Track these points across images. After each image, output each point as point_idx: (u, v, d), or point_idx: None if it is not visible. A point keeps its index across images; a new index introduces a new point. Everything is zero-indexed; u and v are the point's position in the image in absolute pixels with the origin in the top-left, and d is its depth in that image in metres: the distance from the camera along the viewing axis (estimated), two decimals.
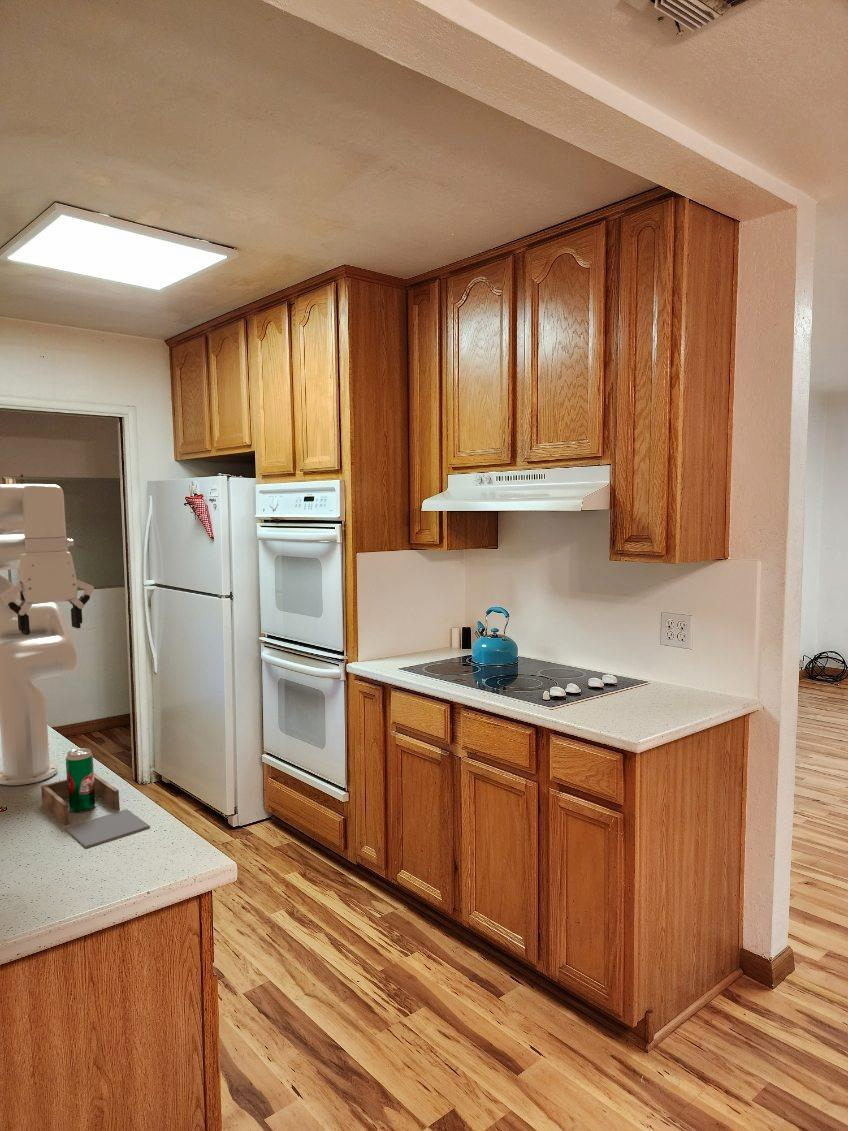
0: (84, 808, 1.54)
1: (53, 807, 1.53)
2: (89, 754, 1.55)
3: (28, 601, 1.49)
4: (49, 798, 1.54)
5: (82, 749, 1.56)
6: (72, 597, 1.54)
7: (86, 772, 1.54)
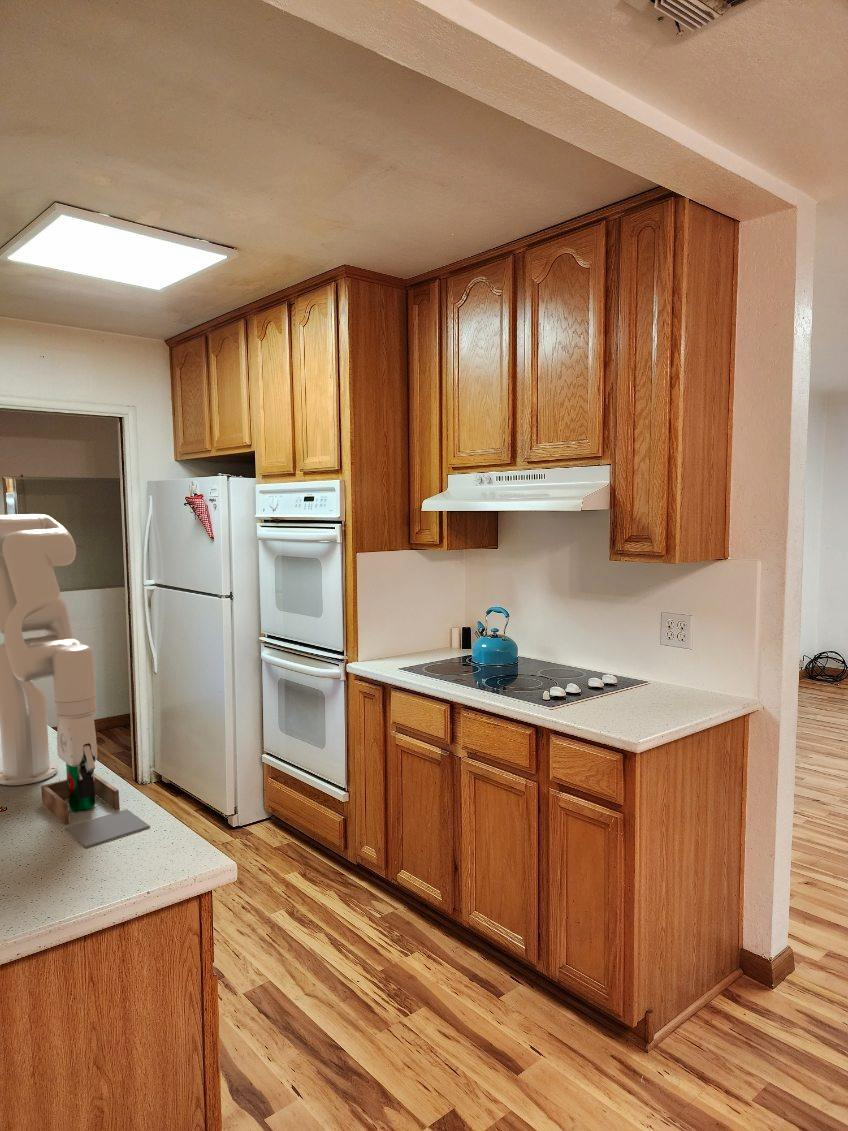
0: (84, 808, 1.54)
1: (53, 807, 1.53)
2: None
3: (96, 759, 1.53)
4: (49, 798, 1.54)
5: None
6: None
7: None
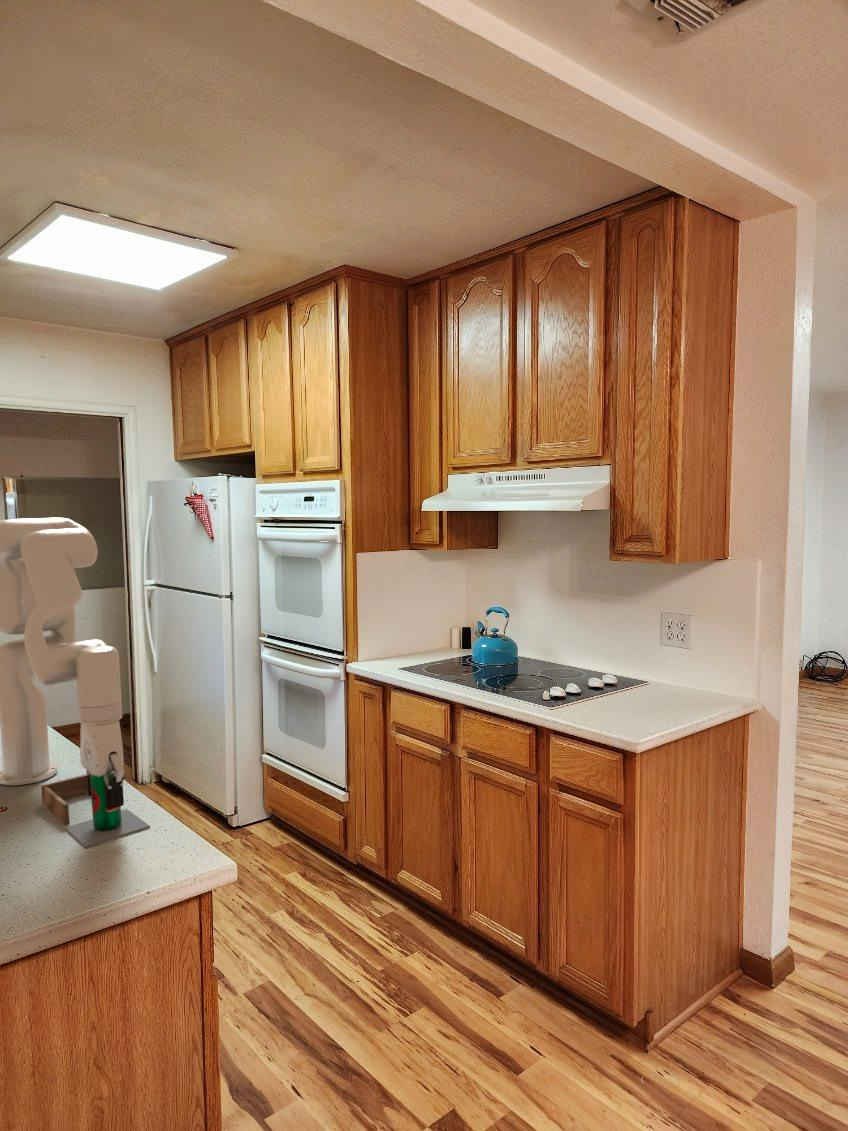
0: (110, 826, 1.44)
1: (53, 807, 1.53)
2: None
3: None
4: (49, 798, 1.54)
5: None
6: None
7: None
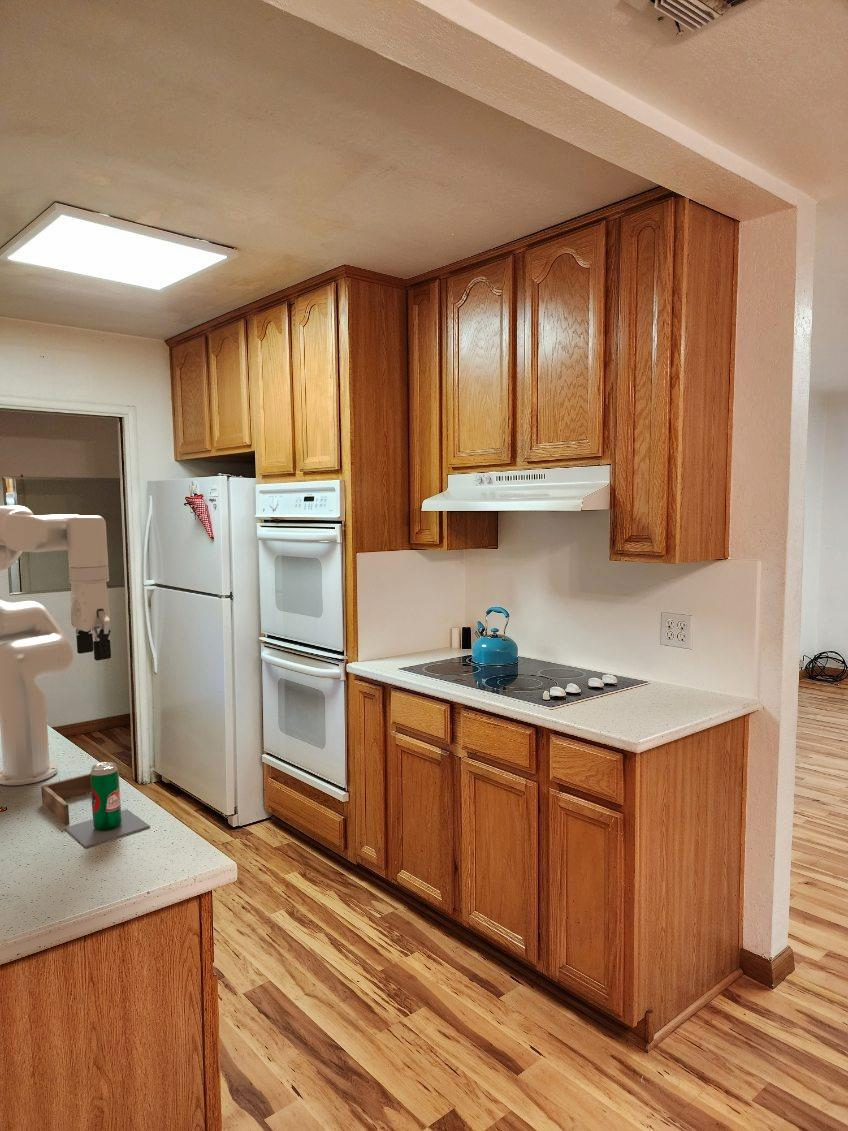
0: (110, 826, 1.44)
1: (53, 807, 1.53)
2: (115, 768, 1.45)
3: None
4: (49, 798, 1.54)
5: (107, 763, 1.47)
6: None
7: (113, 788, 1.44)
